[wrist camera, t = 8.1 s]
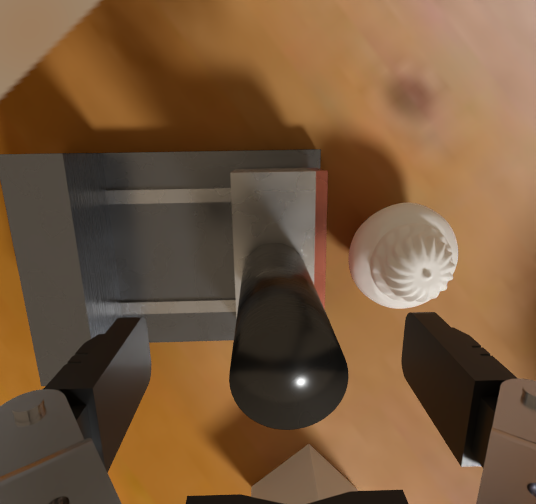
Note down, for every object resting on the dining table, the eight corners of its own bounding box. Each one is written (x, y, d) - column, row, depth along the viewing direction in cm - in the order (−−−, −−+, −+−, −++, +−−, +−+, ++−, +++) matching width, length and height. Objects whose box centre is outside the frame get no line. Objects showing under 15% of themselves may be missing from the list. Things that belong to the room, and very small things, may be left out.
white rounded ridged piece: (423, 286, 26) (482, 334, 19) (334, 286, 25) (362, 335, 19) (434, 195, 24) (503, 212, 17) (339, 195, 24) (371, 212, 17)
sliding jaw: (235, 169, 21) (203, 193, 9) (315, 167, 21) (398, 189, 9) (241, 329, 24) (223, 526, 11) (313, 327, 24) (374, 520, 11)
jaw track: (62, 153, 23) (-5, 154, 17) (316, 149, 23) (336, 148, 17) (90, 333, 26) (41, 386, 20) (313, 327, 26) (329, 377, 20)
